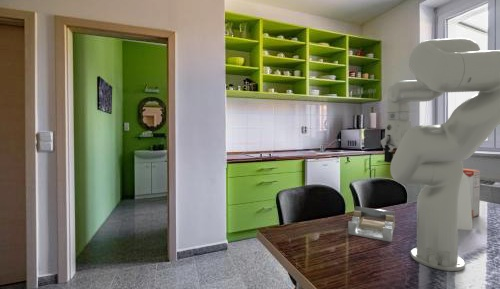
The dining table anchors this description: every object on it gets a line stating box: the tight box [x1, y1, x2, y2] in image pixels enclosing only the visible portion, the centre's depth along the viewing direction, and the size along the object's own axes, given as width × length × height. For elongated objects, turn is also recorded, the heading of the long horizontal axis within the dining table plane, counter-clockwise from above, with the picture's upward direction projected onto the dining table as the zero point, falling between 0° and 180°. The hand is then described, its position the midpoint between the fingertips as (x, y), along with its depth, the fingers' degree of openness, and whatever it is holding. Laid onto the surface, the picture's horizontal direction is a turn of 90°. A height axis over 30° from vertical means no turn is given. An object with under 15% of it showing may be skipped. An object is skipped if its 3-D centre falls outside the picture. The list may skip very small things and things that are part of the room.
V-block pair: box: [347, 215, 394, 243], centre depth 94 cm, size 8×14×4 cm, turn 57°
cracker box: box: [463, 168, 481, 218], centre depth 118 cm, size 14×6×21 cm, turn 25°
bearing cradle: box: [353, 209, 396, 233], centre depth 102 cm, size 8×14×6 cm, turn 57°
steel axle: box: [354, 206, 394, 222], centre depth 102 cm, size 4×14×4 cm, turn 57°
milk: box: [458, 173, 474, 231], centre depth 103 cm, size 12×12×26 cm
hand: (397, 161), depth 98 cm, fingers open, 9 cm apart
